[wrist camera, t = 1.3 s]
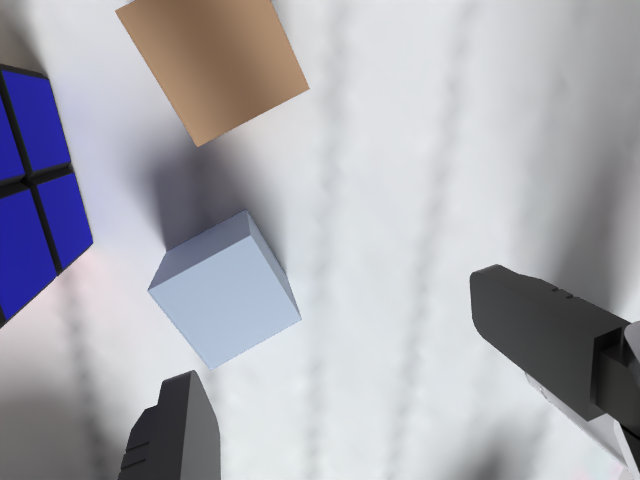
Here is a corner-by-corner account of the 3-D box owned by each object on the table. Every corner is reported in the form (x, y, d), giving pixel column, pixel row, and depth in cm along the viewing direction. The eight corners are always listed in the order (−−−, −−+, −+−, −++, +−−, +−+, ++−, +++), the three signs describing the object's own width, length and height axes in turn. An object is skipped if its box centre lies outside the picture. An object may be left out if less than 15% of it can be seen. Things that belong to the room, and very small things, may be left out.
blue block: (246, 208, 24) (250, 235, 19) (287, 277, 26) (301, 319, 21) (166, 251, 24) (147, 291, 18) (214, 317, 26) (210, 370, 21)
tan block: (242, -8, 20) (246, -54, 15) (290, 96, 23) (309, 88, 17) (147, 40, 20) (114, 10, 14) (205, 140, 22) (197, 147, 17)
